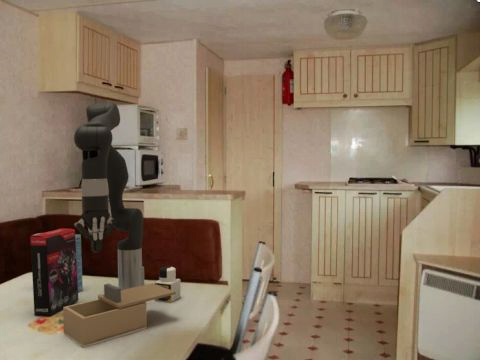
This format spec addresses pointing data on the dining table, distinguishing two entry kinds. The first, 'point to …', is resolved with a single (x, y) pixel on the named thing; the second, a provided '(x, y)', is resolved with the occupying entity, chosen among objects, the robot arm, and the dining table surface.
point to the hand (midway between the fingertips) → (96, 252)
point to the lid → (133, 294)
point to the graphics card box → (54, 271)
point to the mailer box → (102, 321)
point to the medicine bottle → (169, 283)
